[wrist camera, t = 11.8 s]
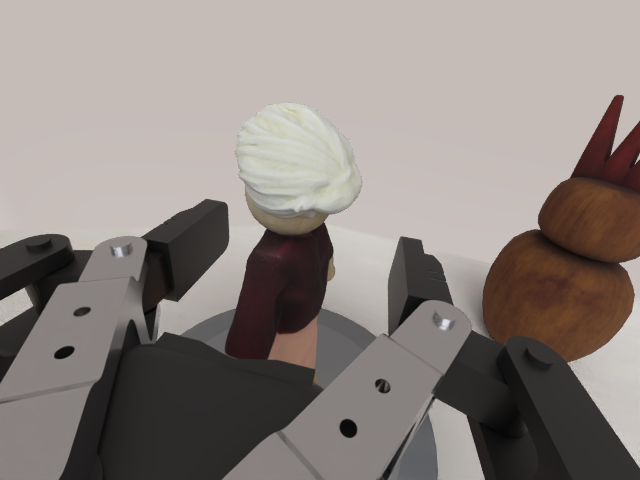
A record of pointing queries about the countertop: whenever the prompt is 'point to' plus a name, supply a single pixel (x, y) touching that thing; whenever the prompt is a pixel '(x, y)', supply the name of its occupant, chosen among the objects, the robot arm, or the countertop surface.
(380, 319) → the countertop surface
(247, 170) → the grandmother figurine
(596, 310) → the wooden figurine
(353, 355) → the slate coaster
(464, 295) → the countertop surface
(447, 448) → the countertop surface
